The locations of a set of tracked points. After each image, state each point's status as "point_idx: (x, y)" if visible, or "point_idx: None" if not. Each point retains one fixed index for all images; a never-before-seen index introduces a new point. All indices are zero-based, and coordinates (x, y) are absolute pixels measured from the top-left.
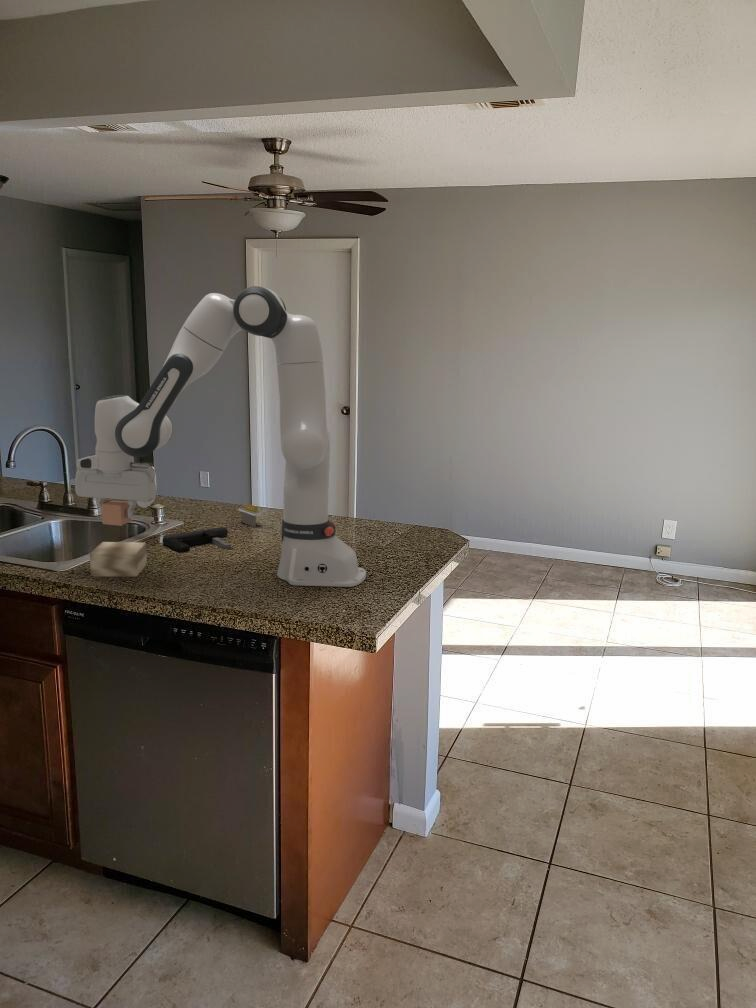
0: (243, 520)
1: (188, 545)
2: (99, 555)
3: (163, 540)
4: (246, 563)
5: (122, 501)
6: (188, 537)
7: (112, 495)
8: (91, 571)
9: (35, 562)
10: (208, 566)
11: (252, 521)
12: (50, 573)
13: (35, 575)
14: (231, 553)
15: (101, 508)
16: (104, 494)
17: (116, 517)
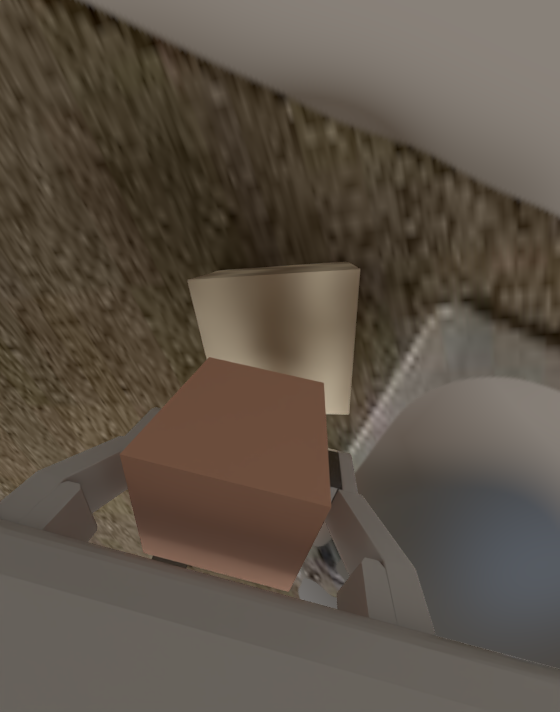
0: (183, 566)
1: None
2: (319, 270)
3: None
4: (52, 384)
5: (201, 563)
6: None
7: (163, 642)
8: (346, 262)
9: (535, 379)
10: (105, 363)
11: (161, 558)
12: (482, 276)
13: (536, 248)
14: None
15: (348, 495)
16: (299, 692)
17: (217, 389)
